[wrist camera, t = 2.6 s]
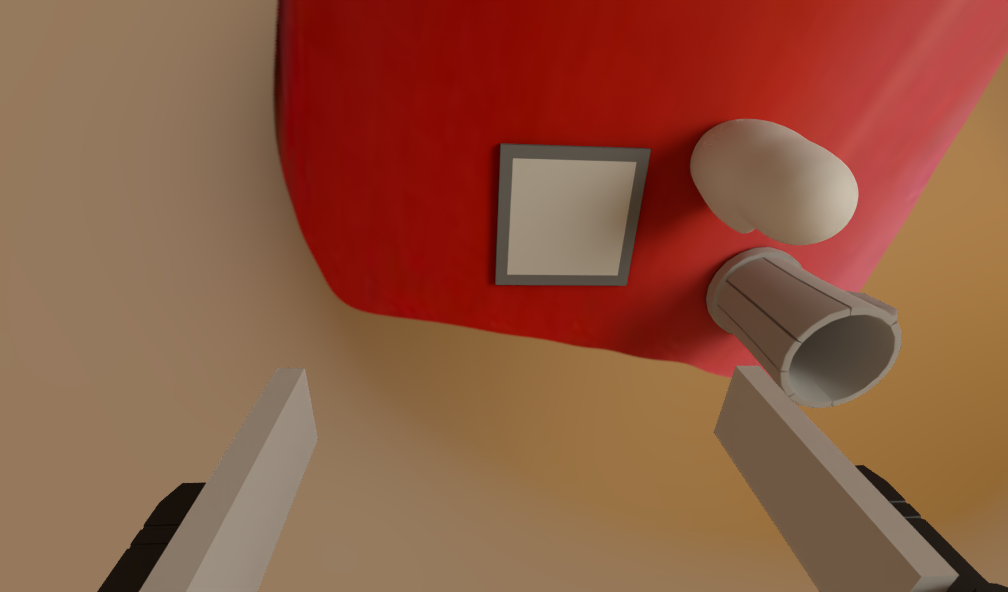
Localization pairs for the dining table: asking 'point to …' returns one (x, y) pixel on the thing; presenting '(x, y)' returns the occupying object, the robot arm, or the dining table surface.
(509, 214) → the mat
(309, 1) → the dining table surface
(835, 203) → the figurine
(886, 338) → the cup
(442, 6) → the dining table surface
